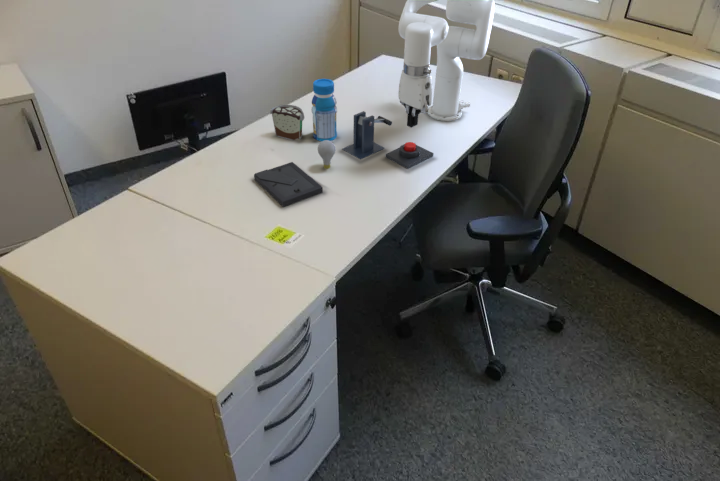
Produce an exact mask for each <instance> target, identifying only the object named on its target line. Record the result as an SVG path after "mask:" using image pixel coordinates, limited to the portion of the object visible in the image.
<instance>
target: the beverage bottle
mask: <svg viewBox="0 0 720 481" xmlns="http://www.w3.org/2000/svg"><path fill="white" fill-rule="evenodd" d="M312 89H313V94H314V95H313V97H312V99H311V105H312V107H311V115H312V131H313V133H312V138H313V139H314V140H316V141H319V142H322V141H324V140H329V141H331V142H332V141H334V140H336V139H337V137H338V132H337V131H338V130H337V113H338V107H337V98H336V97H335V95H334V93H335V82H334V81H333V80H332V79H330V78H319V79H318V78H317V79H315V80H314V81H313V82H312Z"/></svg>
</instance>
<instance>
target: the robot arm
mask: <svg viewBox="0 0 720 481" xmlns="http://www.w3.org/2000/svg"><path fill="white" fill-rule="evenodd" d="M435 2H438V0H405V4H404V7H403V10H402V12H401V15H400V18H399V22H398V27H397V28H398V29H397V30H398V35H399V36H400V38H402V39H403V40H404V49H403V50H404V52H403V69H402V70H401V73H400V78H399V83H398V91H397V92H398V93H397V94H398V96H397V97H398V101H399V103H400V104H401V105H402V106H403V107H404V109H405V113H406V114H407V116H406V126H407V127H409V128H411V129H412V128H414V127H416V126H417V125H418V124H419V115H420V114H424V115H425V114H427V115H428V116H429V117H430V118H432V119H434V120H437V121H442V122H452V121H456V120H459V119H460V118H461V117H462V115H463V111H462V110H463V109H466V108H467V109H468V108H470V107H471V103H470V101H467V102H465V101H464V100H460V99H461V90H462V84H463V83H462V82H463V76H464V65H463V62H462V60H461V58H462V59H467V60H474V61H480V60H482V59H483V58H485V56H486V55H487V51H488V47H489V43H490V37H491V32H492V26H493V23H494V22H493V21H494V17H495V10H496V7H495V6H496V4H495V0H446V7H445V16H446V18H447V19H448V20H449V21H450V22H454V23H458V24H459V23H460V24H466V25H473V26H475V27H476V28H475V29H474V28H468V27H464V26H463V27H462V26H455V25H449V23H448V21H447V20H446V19H445V18H444V17H441V16H435V15H429V14H423V13H418V11H419V10H420V9H421V8H423V7H425V6H426V5H428V4H430V3H431V4H432V3H435ZM435 46H436V68H435V78H434V88H433V80H432V69H430V65H431V55H432V54H431V53H432V47H435Z"/></svg>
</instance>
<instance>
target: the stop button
mask: <svg viewBox="0 0 720 481" xmlns="http://www.w3.org/2000/svg"><path fill="white" fill-rule="evenodd" d="M404 144H405V146H404V150H405V151H408V152H414V151H415V150H416V145H417V144H416V142H413V141H407V142H405V143H404Z"/></svg>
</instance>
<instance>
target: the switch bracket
mask: <svg viewBox="0 0 720 481" xmlns="http://www.w3.org/2000/svg"><path fill="white" fill-rule="evenodd" d="M366 113H367V112H366V111H365V110H363V111H361V112H358V113H356V114H353V143H352V144H350V145H347V146H346V147H343V148H341V150H342V151H344V152H346V153H348V154H350V155H351V156H353V157H355V158H357V159H359V160H363V159H365V158H368V157H369V156H371V155H373V154H376V153H378V152H380V151H383V150H385V147H384V146H382V145H380V144H378V143H376V142H375V140H374V138H375V123H374V119H375V116H374V115H369V116H367V114H366ZM359 116H366V117H367V118H365V119H362V125H360V124H358V120H359Z"/></svg>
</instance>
